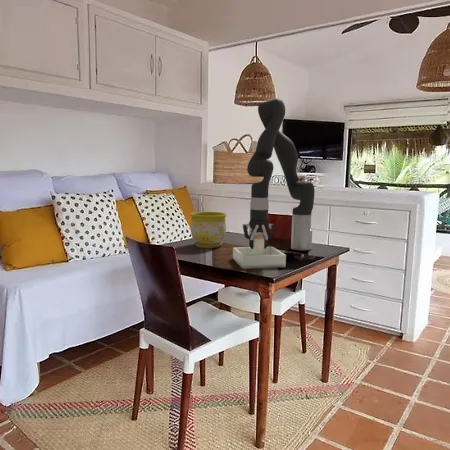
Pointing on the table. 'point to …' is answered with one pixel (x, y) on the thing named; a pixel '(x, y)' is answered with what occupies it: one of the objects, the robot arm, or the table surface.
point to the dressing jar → (258, 244)
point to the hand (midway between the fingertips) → (258, 248)
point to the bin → (259, 258)
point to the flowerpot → (208, 228)
